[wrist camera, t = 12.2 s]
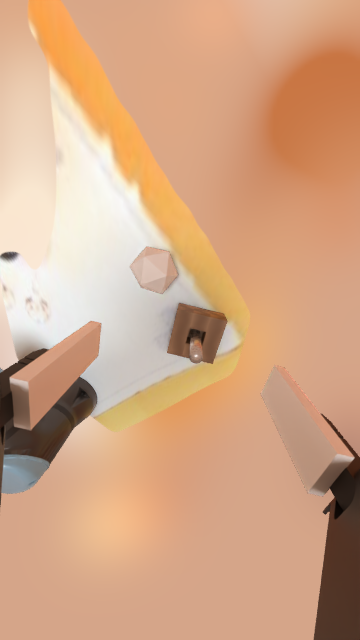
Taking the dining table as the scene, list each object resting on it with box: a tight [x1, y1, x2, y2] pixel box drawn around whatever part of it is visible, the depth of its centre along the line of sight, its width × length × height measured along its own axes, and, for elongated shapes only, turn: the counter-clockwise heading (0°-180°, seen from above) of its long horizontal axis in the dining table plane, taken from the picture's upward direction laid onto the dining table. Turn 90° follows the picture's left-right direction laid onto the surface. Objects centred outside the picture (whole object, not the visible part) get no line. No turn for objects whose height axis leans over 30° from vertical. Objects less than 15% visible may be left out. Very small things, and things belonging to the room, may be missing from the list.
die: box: [130, 247, 178, 294], centre depth 40 cm, size 8×9×10 cm
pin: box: [190, 329, 203, 363], centre depth 41 cm, size 2×2×12 cm
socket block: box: [167, 303, 227, 364], centre depth 45 cm, size 11×11×5 cm
